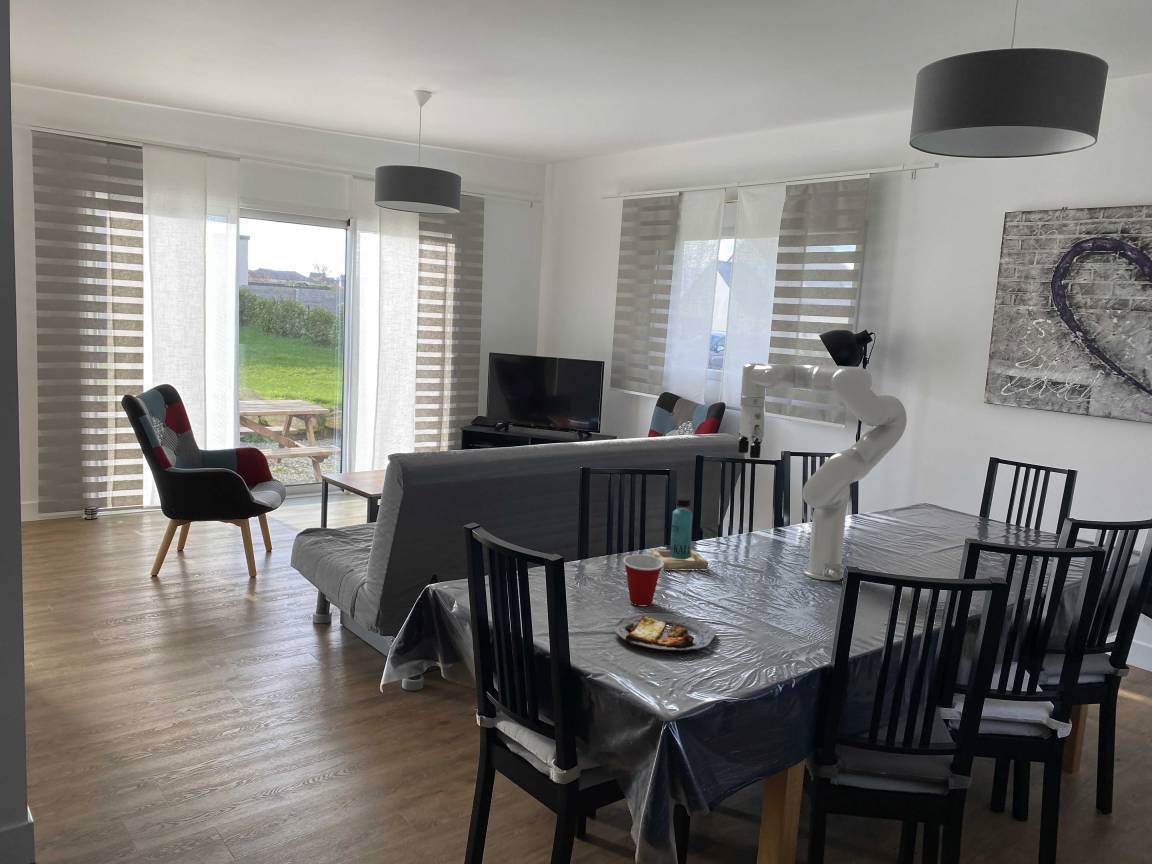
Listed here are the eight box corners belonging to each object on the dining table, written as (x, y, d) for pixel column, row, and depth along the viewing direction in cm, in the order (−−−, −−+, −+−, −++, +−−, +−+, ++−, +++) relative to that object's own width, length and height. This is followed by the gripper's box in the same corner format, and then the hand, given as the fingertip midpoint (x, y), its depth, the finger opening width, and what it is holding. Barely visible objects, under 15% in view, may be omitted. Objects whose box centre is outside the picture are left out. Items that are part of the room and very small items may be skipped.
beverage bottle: (676, 557, 283) (680, 495, 280) (694, 561, 278) (698, 498, 276) (665, 561, 278) (668, 498, 275) (683, 565, 273) (686, 501, 271)
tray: (707, 570, 273) (708, 562, 272) (663, 570, 270) (664, 562, 270) (692, 557, 286) (693, 549, 286) (651, 557, 284) (651, 550, 283)
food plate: (699, 664, 199) (700, 649, 198) (601, 647, 207) (602, 632, 207) (723, 632, 222) (724, 618, 221) (634, 617, 230) (634, 604, 230)
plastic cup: (628, 611, 232) (630, 566, 231) (615, 597, 243) (617, 555, 241) (667, 609, 235) (670, 565, 234) (653, 596, 246) (655, 553, 244)
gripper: (774, 405, 276) (770, 460, 278) (753, 399, 293) (749, 450, 295) (751, 405, 275) (748, 459, 277) (731, 399, 291) (728, 450, 294)
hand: (748, 455), depth 286 cm, fingers open, 9 cm apart
